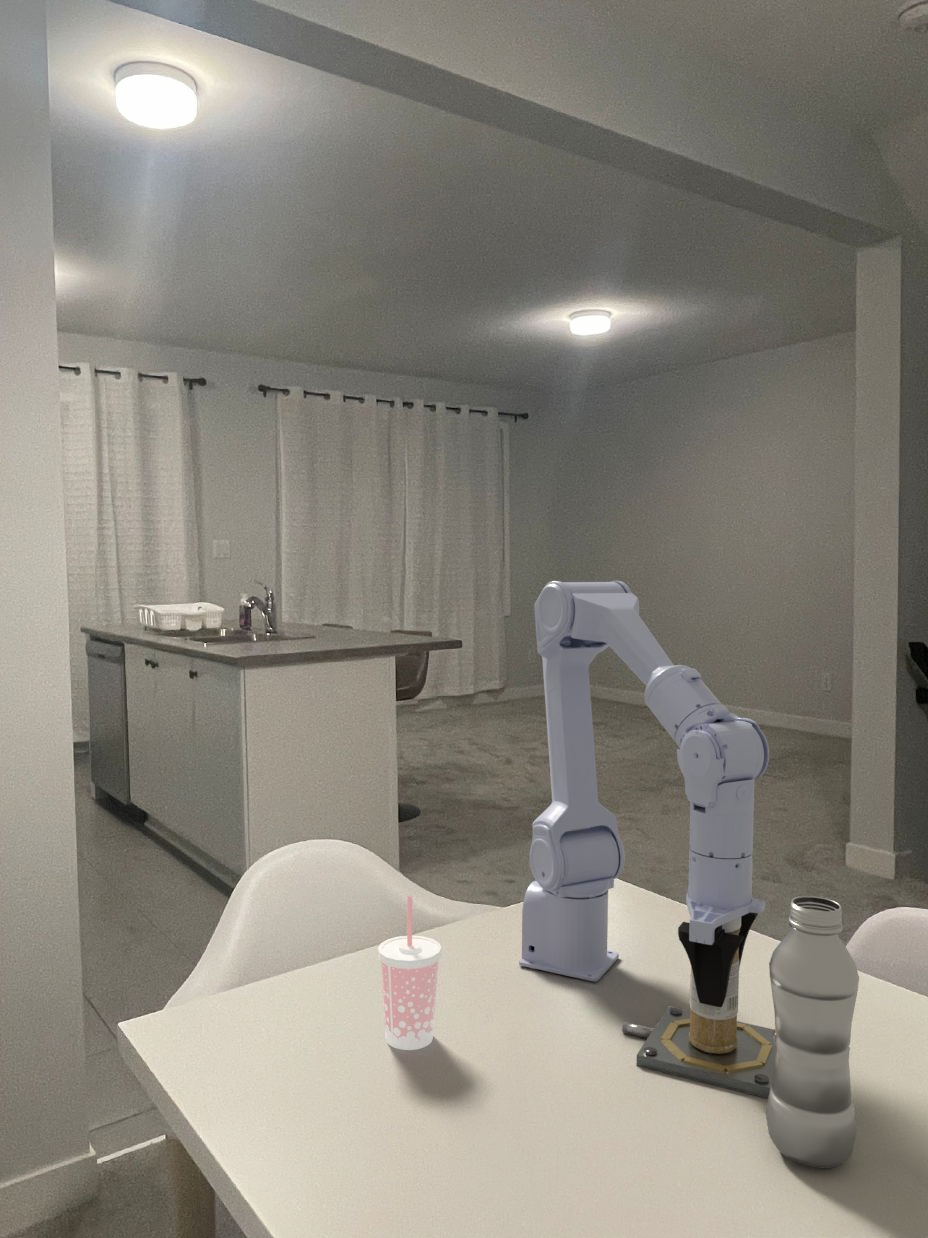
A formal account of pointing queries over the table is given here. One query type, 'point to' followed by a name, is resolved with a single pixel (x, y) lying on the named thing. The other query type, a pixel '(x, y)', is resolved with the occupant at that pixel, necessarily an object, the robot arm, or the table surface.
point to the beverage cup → (409, 987)
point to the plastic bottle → (813, 1037)
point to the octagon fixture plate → (708, 1054)
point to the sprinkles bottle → (717, 1010)
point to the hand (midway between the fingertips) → (717, 993)
